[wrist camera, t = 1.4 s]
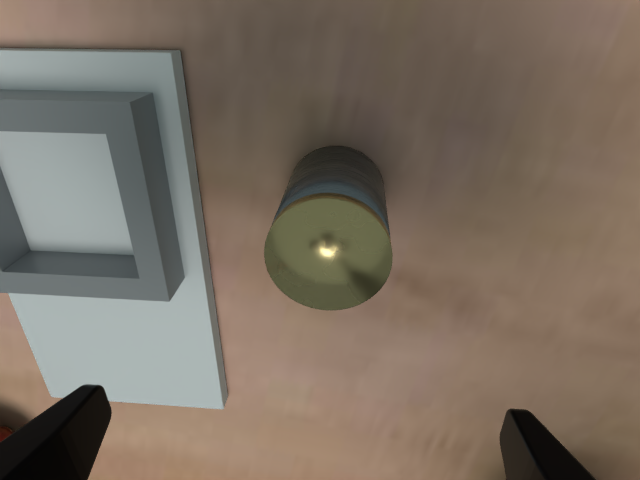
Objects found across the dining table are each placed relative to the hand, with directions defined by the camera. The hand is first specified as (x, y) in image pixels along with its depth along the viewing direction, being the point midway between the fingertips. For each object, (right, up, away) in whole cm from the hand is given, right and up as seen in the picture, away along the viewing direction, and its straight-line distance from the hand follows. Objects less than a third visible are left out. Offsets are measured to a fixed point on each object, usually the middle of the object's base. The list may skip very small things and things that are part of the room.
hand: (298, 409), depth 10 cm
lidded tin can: (+1, +6, +10) cm, 12 cm away
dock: (-11, +3, +13) cm, 17 cm away
